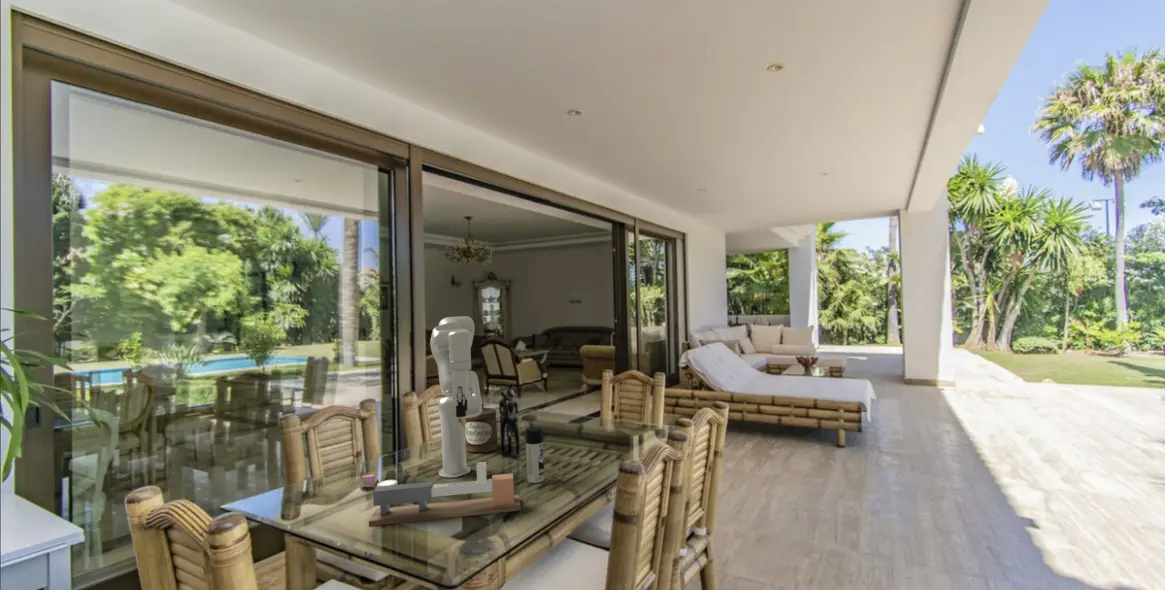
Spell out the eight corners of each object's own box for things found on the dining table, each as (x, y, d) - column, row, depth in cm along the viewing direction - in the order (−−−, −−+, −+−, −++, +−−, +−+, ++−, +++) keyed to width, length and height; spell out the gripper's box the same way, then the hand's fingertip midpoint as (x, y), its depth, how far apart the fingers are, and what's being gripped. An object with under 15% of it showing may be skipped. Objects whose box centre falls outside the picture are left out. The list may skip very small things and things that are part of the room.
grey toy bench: (377, 511, 171) (376, 486, 171) (433, 506, 174) (432, 481, 174) (373, 517, 167) (373, 491, 167) (431, 511, 170) (430, 486, 170)
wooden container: (461, 453, 239) (459, 406, 239) (473, 444, 254) (471, 399, 254) (491, 453, 237) (489, 405, 237) (501, 444, 251) (500, 399, 251)
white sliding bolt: (423, 494, 173) (422, 467, 174) (504, 486, 178) (503, 460, 178) (421, 498, 170) (420, 471, 170) (504, 490, 174) (503, 463, 174)
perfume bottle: (356, 494, 193) (356, 481, 193) (363, 483, 205) (363, 471, 205) (390, 490, 196) (390, 478, 196) (395, 479, 208) (394, 468, 208)
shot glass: (378, 507, 178) (378, 487, 178) (376, 501, 184) (375, 481, 184) (399, 503, 182) (398, 483, 182) (396, 497, 188) (396, 478, 188)
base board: (376, 513, 174) (376, 508, 174) (519, 499, 182) (519, 494, 182) (368, 526, 164) (368, 521, 164) (520, 510, 172) (520, 505, 172)
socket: (493, 500, 178) (492, 475, 178) (513, 497, 179) (512, 473, 179) (493, 505, 173) (492, 480, 173) (514, 503, 174) (513, 478, 174)
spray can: (541, 484, 196) (539, 431, 196) (524, 483, 197) (522, 430, 197) (546, 477, 202) (544, 426, 202) (530, 477, 203) (528, 426, 204)
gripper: (451, 363, 192) (453, 409, 192) (447, 369, 175) (448, 420, 174) (472, 362, 193) (473, 408, 193) (469, 368, 176) (471, 418, 176)
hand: (462, 413), depth 184 cm, fingers open, 9 cm apart
